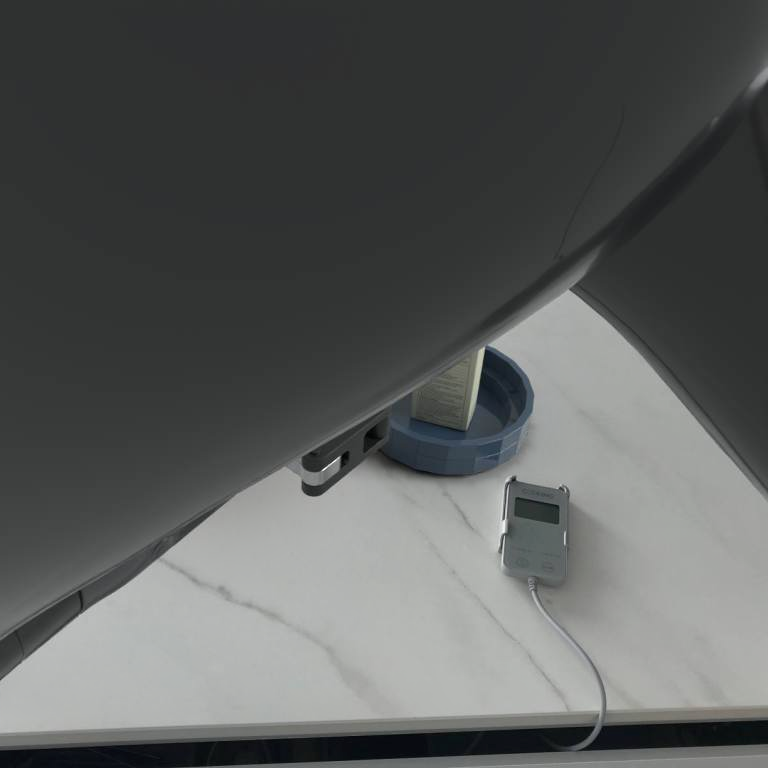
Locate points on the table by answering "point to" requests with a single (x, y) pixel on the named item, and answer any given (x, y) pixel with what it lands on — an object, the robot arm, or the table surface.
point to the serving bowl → (486, 429)
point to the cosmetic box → (450, 395)
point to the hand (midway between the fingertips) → (338, 326)
